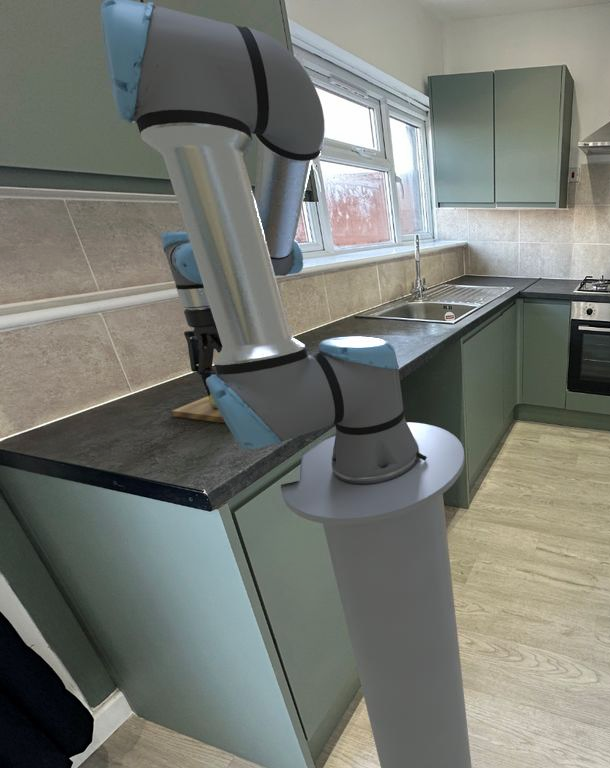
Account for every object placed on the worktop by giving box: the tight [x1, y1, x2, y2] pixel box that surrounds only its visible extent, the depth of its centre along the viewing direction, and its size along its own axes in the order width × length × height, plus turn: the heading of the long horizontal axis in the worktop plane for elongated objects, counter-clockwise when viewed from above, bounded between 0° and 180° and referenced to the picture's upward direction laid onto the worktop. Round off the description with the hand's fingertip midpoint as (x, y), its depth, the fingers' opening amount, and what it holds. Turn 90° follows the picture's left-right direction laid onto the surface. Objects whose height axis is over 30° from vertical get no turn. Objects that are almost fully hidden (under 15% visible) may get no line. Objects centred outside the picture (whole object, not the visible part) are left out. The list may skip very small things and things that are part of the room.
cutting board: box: [171, 395, 226, 424], centre depth 99 cm, size 20×14×2 cm
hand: (232, 401), depth 99 cm, fingers closed on bread roll, 9 cm apart
